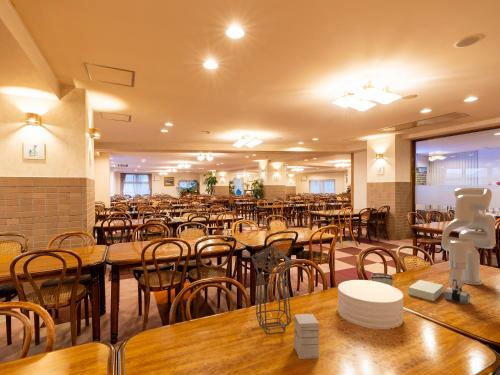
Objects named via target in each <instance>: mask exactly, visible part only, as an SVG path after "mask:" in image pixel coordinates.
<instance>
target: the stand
mask: <svg viewBox="0 0 500 375" xmlns="http://www.w3.org/2000/svg"><path fill="white" fill-rule="evenodd" d="M443 293H444V284H440V283H435V282H432V281H428V280H422V279H419V280H417V281H416V282H415V283H413V284H410V286H409V287H408V295H409V296H414V297H417V298H419V299H420V298H421V299H423V300H429V301H432V302H434V301H435V300H437V299H438V298H439V297H440V296H441V295H442V294H443Z"/></svg>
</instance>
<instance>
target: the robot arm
mask: <svg viewBox="0 0 500 375" xmlns="http://www.w3.org/2000/svg"><path fill="white" fill-rule="evenodd" d="M492 196H493V192H492V190H491V189H489V188H487V187H458V188H456V189H454V197H455V198H456V199H455V205H454V206H455V207H454V216H453V220H452V221H450V222H449V223H448V224H447V225H446V226H445V227H444V229H443V230H442V236H441V245H440V246H441V248H442V249H443V250H444V251H447V252H448V267H449V268H450V269H449V274H448V275H449V278H448V287H449V288H452V300H453V301H452V302H454V301H457V302H456V303H458V302H459V301H460V294H459V290H463V286H464V285H465V284H467V285H474V286H480V285H481V286H482V285H483V283H484V282H483V281H482V280H481V279H480V266H481V265H480V262H481V261H480V257H481V255H480V253H479V250H478V249H477V248H482V249H489V250H490V249H494V247H495V246H496V219H495V218H494V216H493V215H490V214H480V211H487V210H488V209H489V207H490V204H491V201H492V198H493V197H492ZM458 228H463V229H465V230H462V231H460V232H459V234H458V237H450V234H451V232H452V231H454V230H456V229H458ZM466 229H468V230H466Z"/></svg>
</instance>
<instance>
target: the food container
mask: <svg viewBox="0 0 500 375" xmlns="http://www.w3.org/2000/svg"><path fill="white" fill-rule="evenodd" d="M370 280H371V281H375V282H380V283H384V284H387V285H390V286H393V281H395V279H394V276H393V275H391V274H388V273H383V272H374V273H371V275H370Z"/></svg>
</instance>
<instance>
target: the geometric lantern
mask: <svg viewBox="0 0 500 375" xmlns="http://www.w3.org/2000/svg"><path fill="white" fill-rule="evenodd" d="M275 252H276V253H275ZM269 254H270V255H269ZM279 257H282V258H283V259H284V261H285V263H284V264H283V263H282V264H279V262H278V260H277V259H278V258H279ZM250 258H251V261H252V264H253V265H254V266H253V267H254V269H255V270H256V273H257V275H256V276H257V277H256V278H257V279H256V301H255V302H256V303H255V304H256V306H255V316H256V318H257V319H256V320H257V321H258V324H259V326H260V327H261V328H263V330H264V332H265V334H267V335H274V334H282V333H286V330H287V329H286V327H287V326H290V324H291V323H292V316H291V314H292V313H291V304H290V292H289V291H290V290H289V280H288V278H289V271H287V274H286V275H287V276H285V275H284V273H285V270H286V268H287V270H289V268H290V267H291V266H292V265H293V264H295V261H294V260H292V259H291V258H290V257H288V256H287V255H286V254H285V253H284V252H282V251H281V250H279V249H278V248H276V247H275V246H274V245H273V246H272V245H271V246H268V247H266V248H264V249H261V250H260V251H258V252H257V253H255V254H253V255H251V256H250ZM267 258H268V259H269V258H270V260H269V261H268V260H267ZM261 262H262V263H261ZM274 262H275V263H276V264H274ZM260 264H261V265H260ZM258 267H260V268H261V271H260V272H259V270H258V269H259V268H258ZM265 267H268V268H269V267H270V270H269V269H267V268H265ZM279 267H282V268H281V269H279ZM272 268H275V269H276V271H272ZM264 270H265V271H266V272H268V273H263V272H264ZM281 271H282V272H281ZM273 274H278V281H272V282H267V281H268V279H269V278H270V277H271V276H272V275H273ZM263 275H269V276H267V278H266V280H265V281H263V282H262V279H263V278H262V276H263ZM268 284H278V309H272V310H271V309H270V310H267V304H266V285H268ZM281 284H282V298H283V309H284V310H283V309H281ZM262 285H263V286H262ZM262 289H263V290H262ZM262 292H263V293H262ZM262 294H263V296H262ZM262 297H263V298H264V299H263V298H262ZM262 299H263V300H264V302H263V303H264V304H263V305H264V310H262ZM258 303H259V304H258ZM287 304H288V306H287ZM258 305H259V307H258ZM258 308H259V309H258ZM258 310H259V311H258ZM269 312H270V313H271V312H278V313H277V317H272V318H267V313H269ZM280 312H283V313H281V316H280ZM288 312H289V314H288ZM262 313H264V317H263V316H262ZM284 314H285V317H286V323H285V322H283V321H282V317H283V315H284ZM279 316H280V317H279ZM269 320H276V321H275V322H267V321H269ZM264 322H265V323H264ZM270 324H271V325H270ZM272 324H273V325H272ZM277 329H283V331H276V332H270V330H271V331H272V330H277Z"/></svg>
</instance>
